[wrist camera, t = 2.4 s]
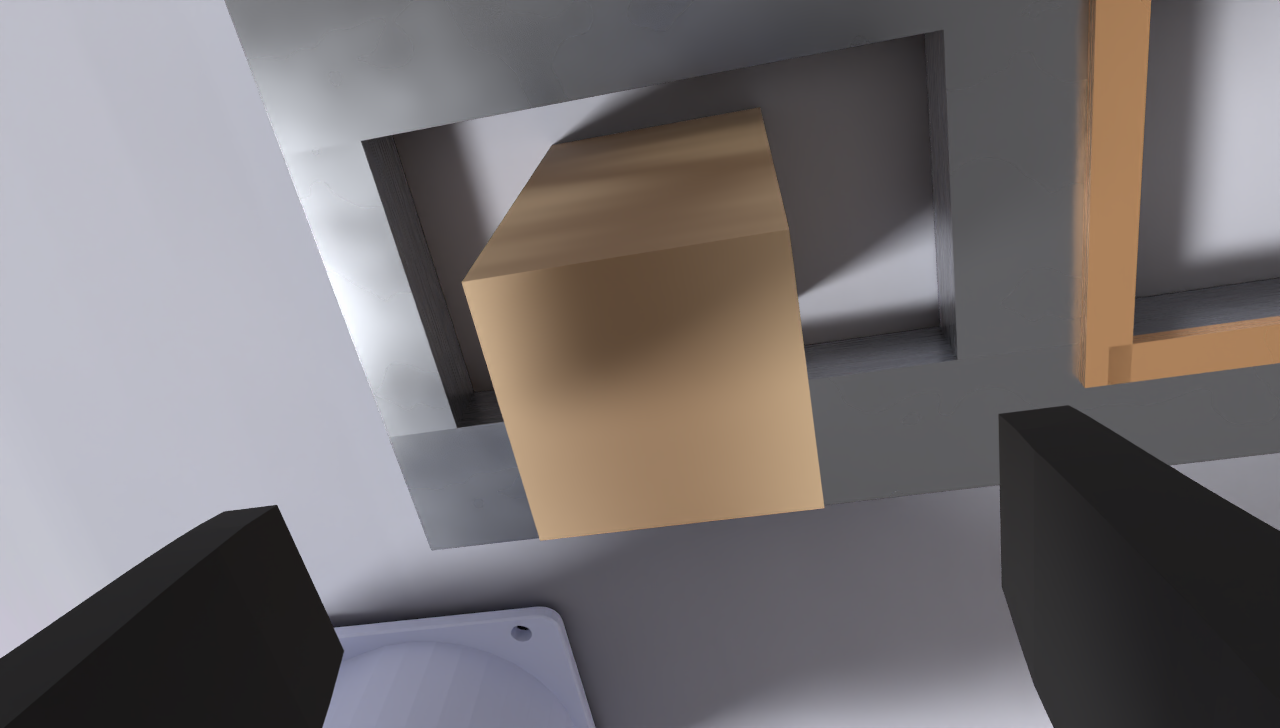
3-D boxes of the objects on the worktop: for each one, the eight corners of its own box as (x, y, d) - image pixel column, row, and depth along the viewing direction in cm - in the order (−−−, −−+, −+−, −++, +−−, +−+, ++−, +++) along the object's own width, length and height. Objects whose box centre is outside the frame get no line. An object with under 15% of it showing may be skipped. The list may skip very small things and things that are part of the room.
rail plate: (448, 510, 21) (427, 559, 20) (256, -30, 16) (206, -22, 14) (1714, 355, 17) (1815, 401, 16) (2009, -426, 12) (2206, -476, 11)
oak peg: (596, 331, 19) (540, 540, 13) (551, 144, 17) (461, 282, 11) (786, 302, 18) (824, 508, 12) (759, 107, 17) (789, 229, 10)
